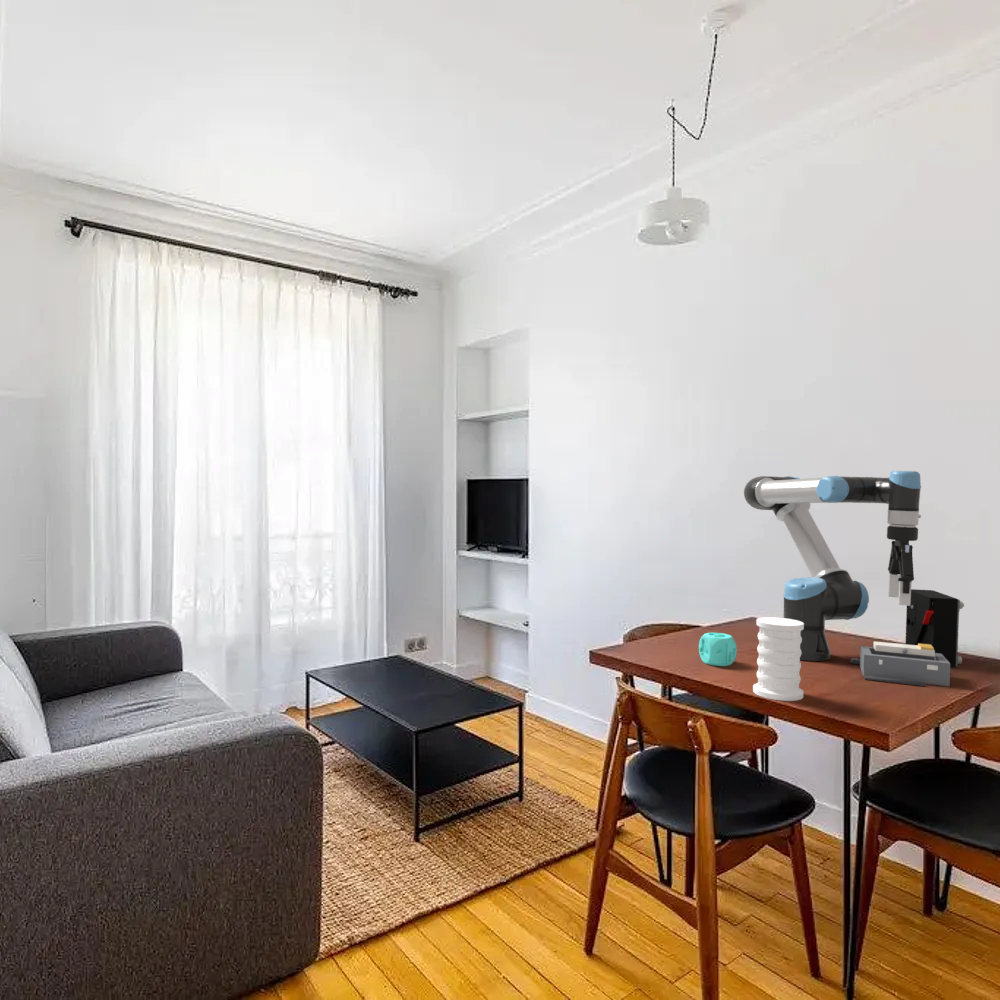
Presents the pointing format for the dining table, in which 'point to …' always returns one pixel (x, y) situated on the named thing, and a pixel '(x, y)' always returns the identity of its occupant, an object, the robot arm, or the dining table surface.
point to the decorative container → (779, 659)
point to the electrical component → (934, 623)
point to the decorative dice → (717, 649)
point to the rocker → (905, 648)
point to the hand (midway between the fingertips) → (898, 601)
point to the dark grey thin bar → (894, 680)
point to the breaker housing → (905, 666)
